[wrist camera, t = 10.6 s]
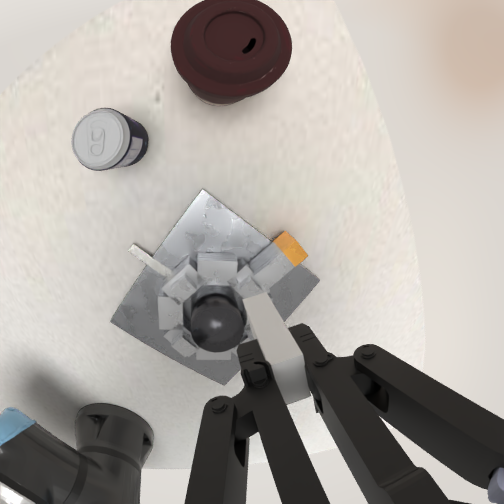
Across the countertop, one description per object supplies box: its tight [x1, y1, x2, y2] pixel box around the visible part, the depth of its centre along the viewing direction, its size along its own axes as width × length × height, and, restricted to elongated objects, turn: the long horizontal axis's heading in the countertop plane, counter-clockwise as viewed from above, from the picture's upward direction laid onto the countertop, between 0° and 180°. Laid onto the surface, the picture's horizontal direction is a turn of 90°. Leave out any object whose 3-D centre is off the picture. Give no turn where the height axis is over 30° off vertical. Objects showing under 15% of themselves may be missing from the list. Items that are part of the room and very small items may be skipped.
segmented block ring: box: [158, 231, 308, 360], centre depth 38 cm, size 14×20×5 cm
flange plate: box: [110, 189, 320, 386], centre depth 37 cm, size 24×23×8 cm
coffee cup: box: [171, 0, 292, 106], centre depth 26 cm, size 10×10×15 cm
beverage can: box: [72, 108, 148, 171], centre depth 28 cm, size 6×6×12 cm
